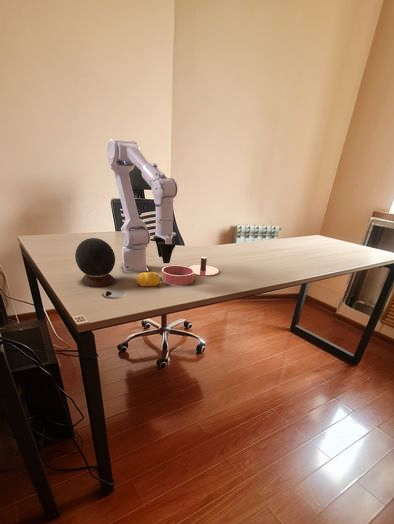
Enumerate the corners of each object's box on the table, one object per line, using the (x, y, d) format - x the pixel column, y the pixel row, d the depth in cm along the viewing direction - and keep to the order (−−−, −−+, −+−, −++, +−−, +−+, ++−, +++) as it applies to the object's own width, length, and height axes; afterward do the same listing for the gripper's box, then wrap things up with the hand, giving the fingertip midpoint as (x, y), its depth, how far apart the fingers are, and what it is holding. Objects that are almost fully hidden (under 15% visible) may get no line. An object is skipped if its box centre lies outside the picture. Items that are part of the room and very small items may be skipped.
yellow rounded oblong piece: (138, 289, 106) (137, 275, 103) (136, 283, 110) (135, 270, 107) (163, 287, 109) (163, 274, 106) (160, 282, 113) (160, 269, 110)
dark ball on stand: (119, 286, 107) (116, 243, 99) (79, 289, 102) (72, 243, 94) (114, 274, 117) (111, 233, 109) (78, 276, 113) (72, 234, 105)
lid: (192, 278, 119) (193, 263, 116) (183, 267, 129) (184, 253, 126) (223, 276, 123) (224, 262, 120) (211, 266, 133) (213, 252, 130)
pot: (165, 287, 109) (166, 276, 107) (158, 275, 119) (158, 265, 117) (197, 285, 113) (198, 275, 111) (188, 274, 123) (188, 264, 121)
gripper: (181, 223, 97) (179, 265, 104) (170, 215, 109) (170, 253, 116) (159, 223, 95) (159, 266, 102) (151, 215, 107) (151, 254, 114)
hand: (164, 259), depth 109 cm, fingers open, 7 cm apart
